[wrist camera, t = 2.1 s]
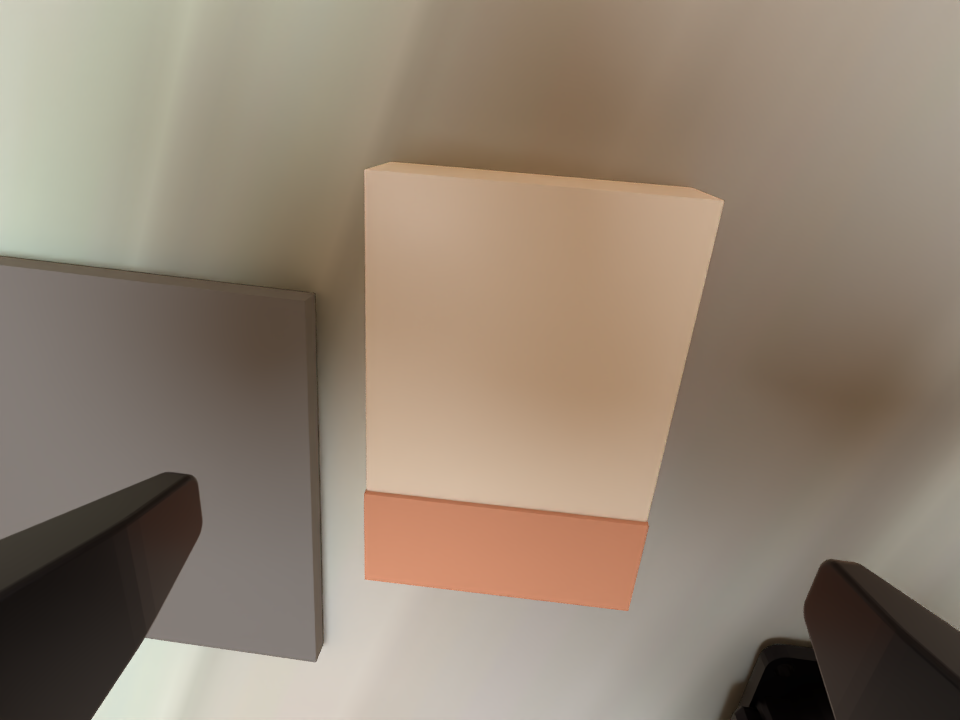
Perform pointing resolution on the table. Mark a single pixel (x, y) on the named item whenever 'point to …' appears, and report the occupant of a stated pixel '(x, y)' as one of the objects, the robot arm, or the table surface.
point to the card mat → (174, 433)
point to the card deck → (522, 374)
